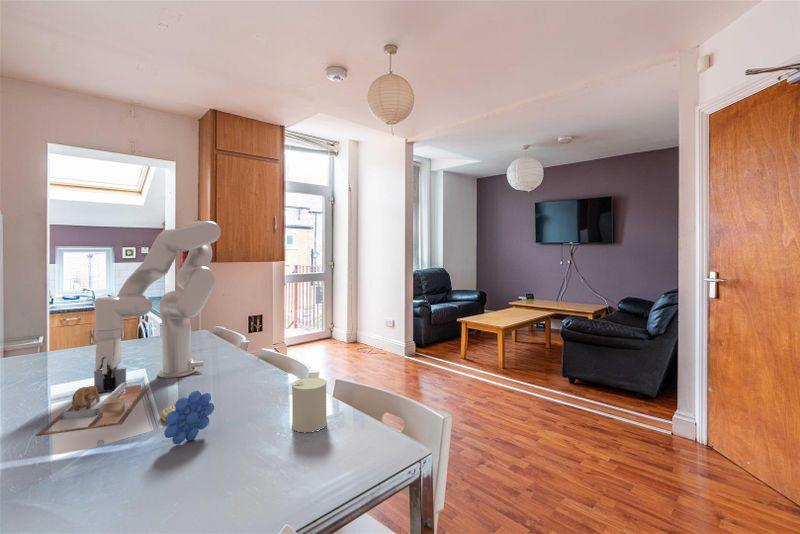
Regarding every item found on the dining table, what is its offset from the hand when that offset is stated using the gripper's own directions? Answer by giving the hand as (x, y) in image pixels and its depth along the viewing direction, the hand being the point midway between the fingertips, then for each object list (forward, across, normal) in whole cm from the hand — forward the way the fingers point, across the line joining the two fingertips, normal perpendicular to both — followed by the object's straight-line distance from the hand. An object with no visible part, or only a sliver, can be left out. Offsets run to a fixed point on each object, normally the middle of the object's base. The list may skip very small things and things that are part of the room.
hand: (110, 387), depth 126 cm
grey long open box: (+1, +12, 0) cm, 12 cm away
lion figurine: (+1, +19, 0) cm, 19 cm away
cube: (0, +26, +8) cm, 27 cm away
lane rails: (+1, +20, +3) cm, 20 cm away
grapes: (+1, +47, +30) cm, 56 cm away
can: (+1, +50, +58) cm, 77 cm away
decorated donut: (+1, +33, +26) cm, 42 cm away
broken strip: (+1, +20, +8) cm, 21 cm away
